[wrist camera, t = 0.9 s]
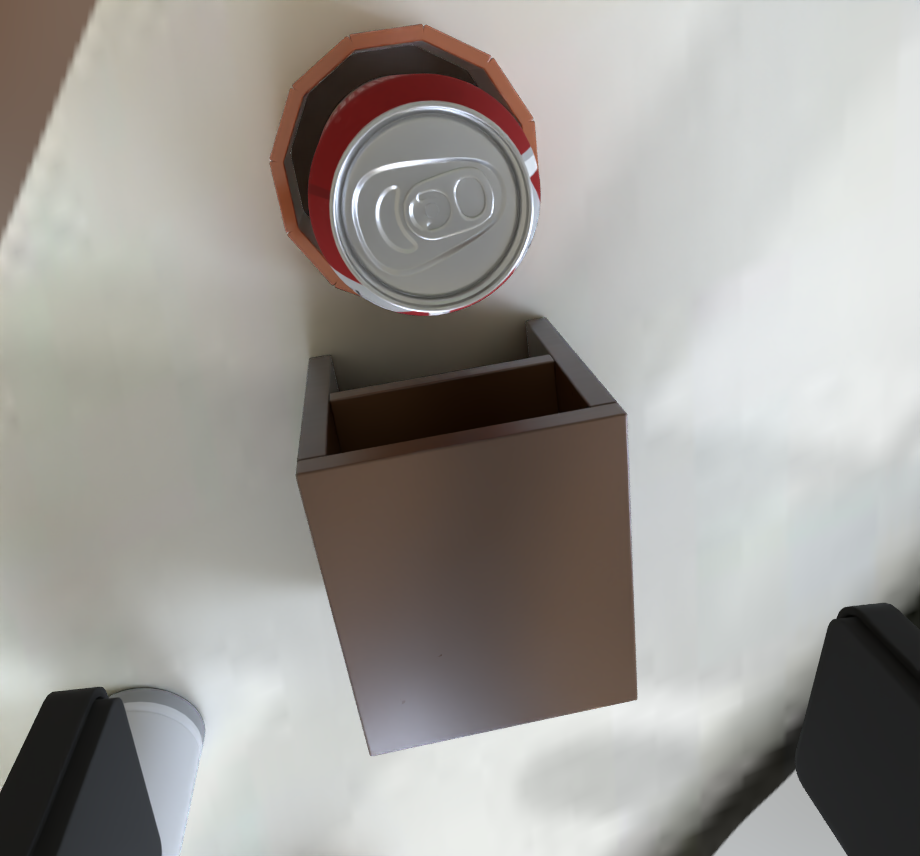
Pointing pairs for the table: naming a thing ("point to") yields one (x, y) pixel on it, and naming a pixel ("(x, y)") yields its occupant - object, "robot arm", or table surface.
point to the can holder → (418, 35)
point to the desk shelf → (473, 542)
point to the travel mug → (166, 756)
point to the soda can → (423, 193)
